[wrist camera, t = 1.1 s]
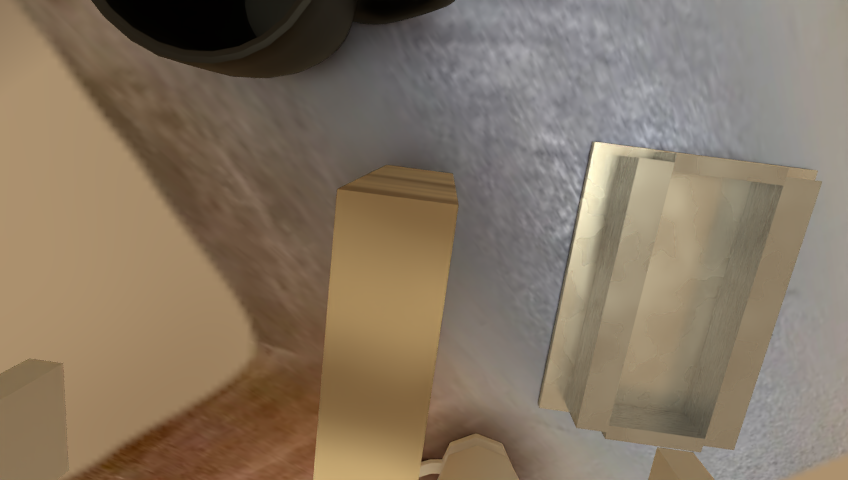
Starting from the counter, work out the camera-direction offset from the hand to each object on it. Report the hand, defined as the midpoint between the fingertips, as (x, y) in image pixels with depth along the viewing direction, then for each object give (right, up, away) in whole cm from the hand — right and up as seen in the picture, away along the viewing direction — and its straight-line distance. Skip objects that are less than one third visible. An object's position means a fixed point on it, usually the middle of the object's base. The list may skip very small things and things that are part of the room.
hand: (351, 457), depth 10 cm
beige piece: (+15, +2, +14) cm, 21 cm away
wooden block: (+1, +4, +15) cm, 15 cm away
